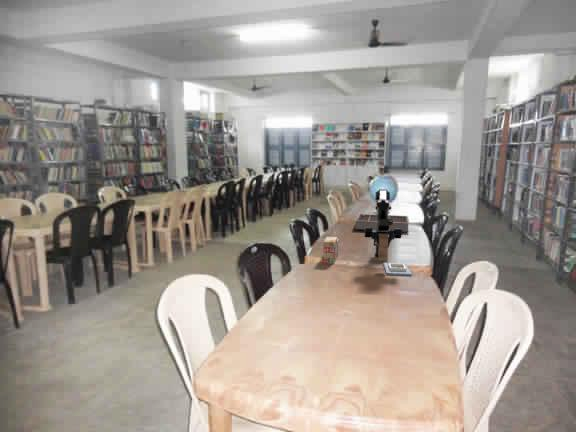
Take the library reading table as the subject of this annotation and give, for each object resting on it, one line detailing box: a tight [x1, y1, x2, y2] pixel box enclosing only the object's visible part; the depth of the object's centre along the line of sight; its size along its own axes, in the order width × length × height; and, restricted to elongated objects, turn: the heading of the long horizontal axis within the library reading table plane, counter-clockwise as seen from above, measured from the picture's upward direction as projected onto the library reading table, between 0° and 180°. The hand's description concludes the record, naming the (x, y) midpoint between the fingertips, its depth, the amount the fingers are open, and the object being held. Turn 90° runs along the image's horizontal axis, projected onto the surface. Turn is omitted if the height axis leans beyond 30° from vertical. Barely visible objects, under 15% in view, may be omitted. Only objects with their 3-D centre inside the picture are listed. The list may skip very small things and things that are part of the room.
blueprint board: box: [383, 262, 413, 277], centre depth 203 cm, size 18×12×2 cm, turn 172°
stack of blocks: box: [323, 236, 340, 264], centre depth 225 cm, size 21×6×12 cm, turn 167°
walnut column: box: [377, 233, 389, 261], centre depth 200 cm, size 4×4×13 cm
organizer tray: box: [354, 212, 410, 233], centre depth 309 cm, size 32×40×10 cm
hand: (383, 247), depth 198 cm, fingers closed on walnut column, 4 cm apart
